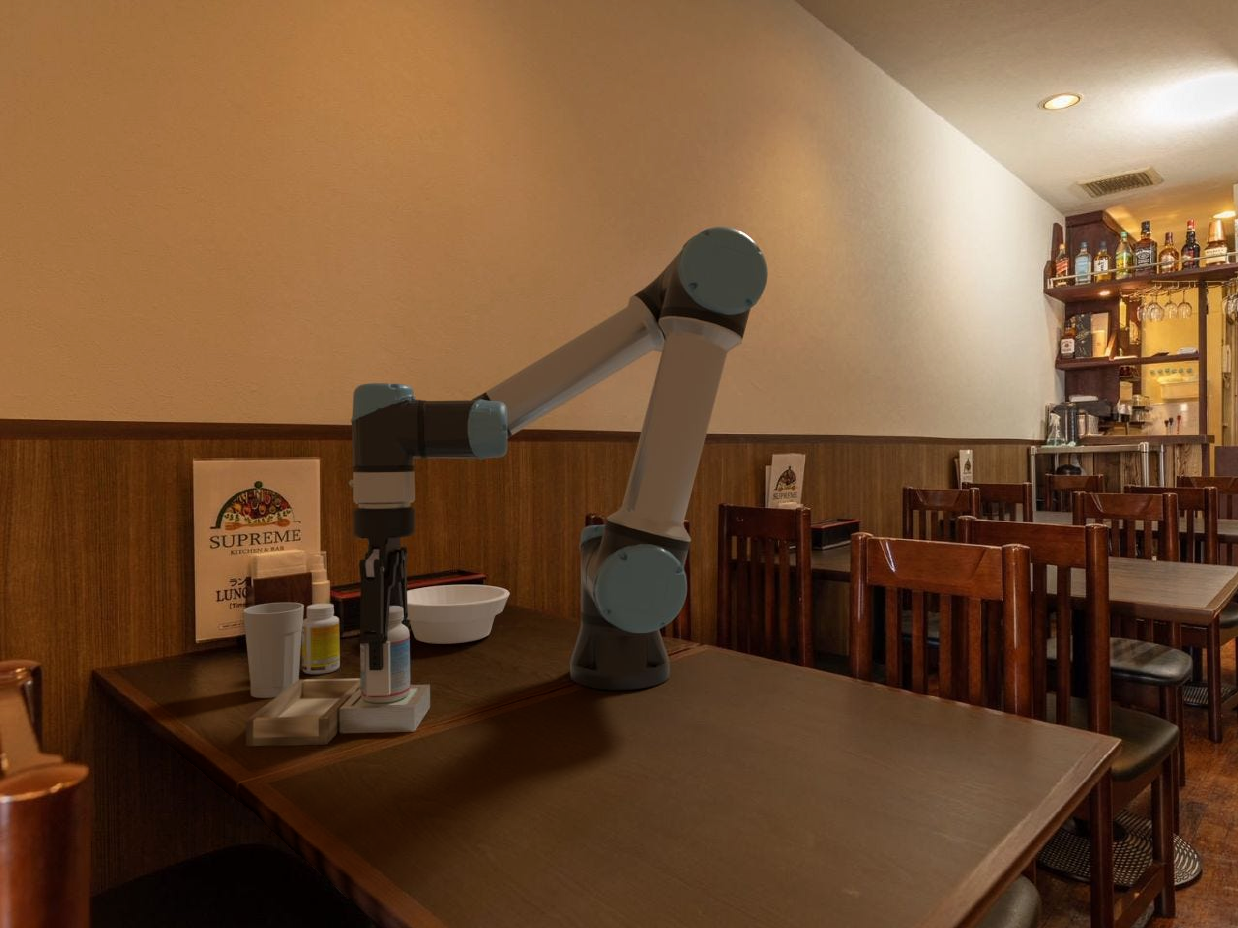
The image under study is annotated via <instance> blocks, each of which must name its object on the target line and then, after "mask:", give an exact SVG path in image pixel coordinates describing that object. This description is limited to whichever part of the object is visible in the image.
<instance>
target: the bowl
mask: <svg viewBox="0 0 1238 928" xmlns="http://www.w3.org/2000/svg"><path fill="white" fill-rule="evenodd" d="M510 594H511V593H510V592H509V590H507V589H505V588H503V587H499V586H494V585H493V586H492V585H485V584H447V585H445V584H443V585H433V586H426V587H421V588H420V587H419V588H414V589H409V590H407V605H408V618H407V619H406V620H410V627H411V631H412V633H413V636H414V638H415V639H416V640H417V641H419V642H421V643H422V642H424V643H428V644H439V645H440V644H442V645H445V644H447V645H448V644H452V645H453V644H461V643H468V642H474V641H478V640H481V639H484V638H485V637H487V636H489V635H490V633H491V631H492V627H493V623H494V620H495V617H496V615H499V614H501V613H502V612H503V610H504V608H505V606H506V604H507V601H508V598H509V597H510Z"/></svg>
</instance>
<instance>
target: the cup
mask: <svg viewBox="0 0 1238 928" xmlns="http://www.w3.org/2000/svg"><path fill="white" fill-rule="evenodd" d="M304 607H305V605H304V604H302V603H299V602H271V603H264V604H257V605H254V606H253V605H251V606H249V607H246V608H244V609H243V610H242V616H243V622H244V623H243V624H244V632H245V641H246V642H245V643H246V652H247V661H248V671H249V682H250V696H251V697H253V698H258V699H259V698H260V699H269V698H270V699H272V698H273V699H274V698H276V697H277V696H278V695H280V694H281V693H282V692H284V691H285V690H286V689H287V688H289V687H290V686H291V685H293V684H294V683H295V682H297V681H298V680H300V677H299V676H300V664H301V663H300V662H301V661H300V660H301V648H302V624H303V620H304V611H305V610H304V609H305V608H304Z"/></svg>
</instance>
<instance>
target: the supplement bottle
mask: <svg viewBox="0 0 1238 928" xmlns="http://www.w3.org/2000/svg"><path fill="white" fill-rule="evenodd" d="M334 607H335V606H334V604H333V603H315V604H311V605H307V606H306V618H303V624H302V632H301V667H302V668H301V670H302V672H303V673H304V674H308V675H314V676H315V675H324V674H329V673H332V672H335V671H337V670H338V669H339V668H340V666H341V653H340V651H341V649H340V646H341V645H340V644H341V643H340V618H339V617H338V616H336V615H334V614H335V609H334Z"/></svg>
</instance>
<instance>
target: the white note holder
mask: <svg viewBox="0 0 1238 928" xmlns="http://www.w3.org/2000/svg"><path fill="white" fill-rule="evenodd" d="M359 688H360V689H359V690H358V691H357V692H356V693H355V694H354V695H353V696H352V697H351V698H350V699H349V700H348V701H347V702H346V703H345V704H344V705H343V706H342V707H341V708H340V709H339V716H340V730H339V734H368V733H373V734H374V733H377V734H378V733H409V732H410V733H411V732H412V733H413V732H415V731H416V729H417V728H418V727H419V725H420V724H421V722H422V721H423V719H424V717H425V716H426V714H427V712H428V711H429V709H430V708H431V684H410V689H418V691H417V693H416V694H415V696H414V697H413V698H412V700H411V701H410V702H409V704H408V705H370V706H354V705H355V704H356V703H357V702H358V701H359V700H360V698H361V684H360V685H359Z"/></svg>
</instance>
